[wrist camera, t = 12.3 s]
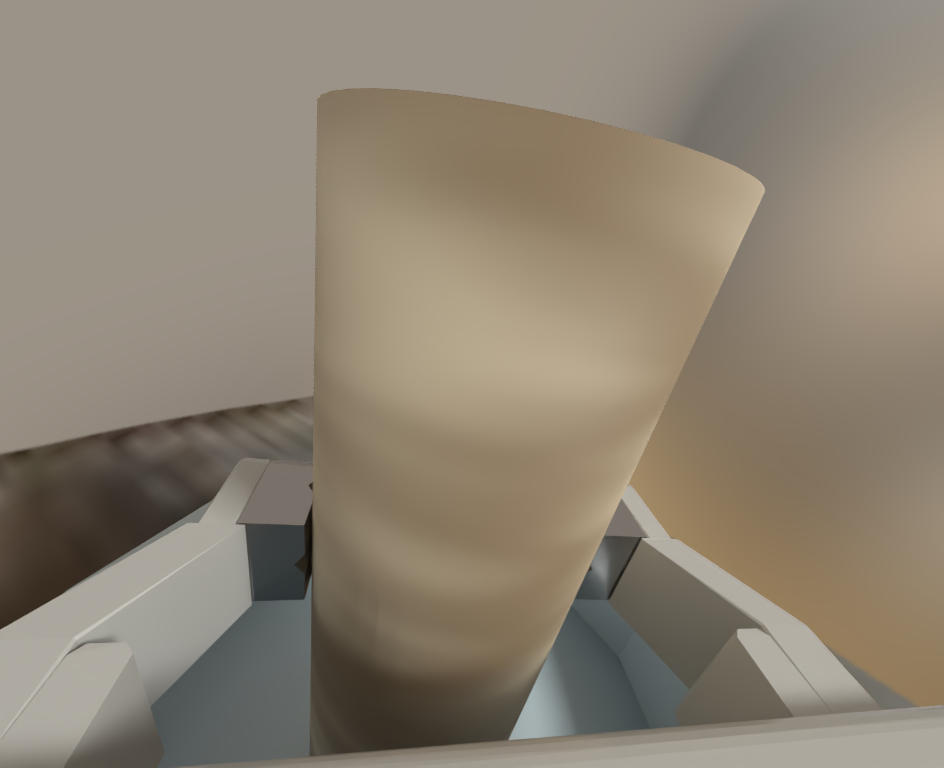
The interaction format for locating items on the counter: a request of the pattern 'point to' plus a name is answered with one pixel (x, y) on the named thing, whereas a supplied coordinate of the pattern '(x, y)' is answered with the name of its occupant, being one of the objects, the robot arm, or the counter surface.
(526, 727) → the bowl
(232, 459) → the counter surface
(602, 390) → the pepper mill
